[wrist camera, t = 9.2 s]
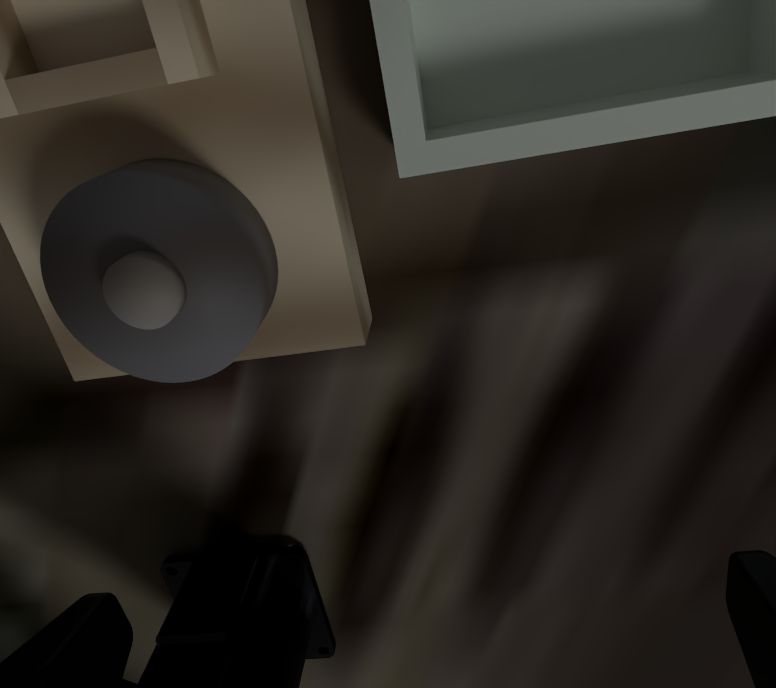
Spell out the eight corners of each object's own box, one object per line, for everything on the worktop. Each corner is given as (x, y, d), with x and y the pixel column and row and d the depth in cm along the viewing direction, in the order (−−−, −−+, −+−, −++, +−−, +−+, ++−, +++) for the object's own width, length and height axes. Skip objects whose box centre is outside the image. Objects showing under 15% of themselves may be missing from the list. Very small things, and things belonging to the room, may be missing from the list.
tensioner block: (372, 318, 21) (354, 388, 17) (104, 353, 22) (27, 425, 18) (262, -208, 15) (191, -301, 11) (-96, -110, 16) (-279, -158, 12)
